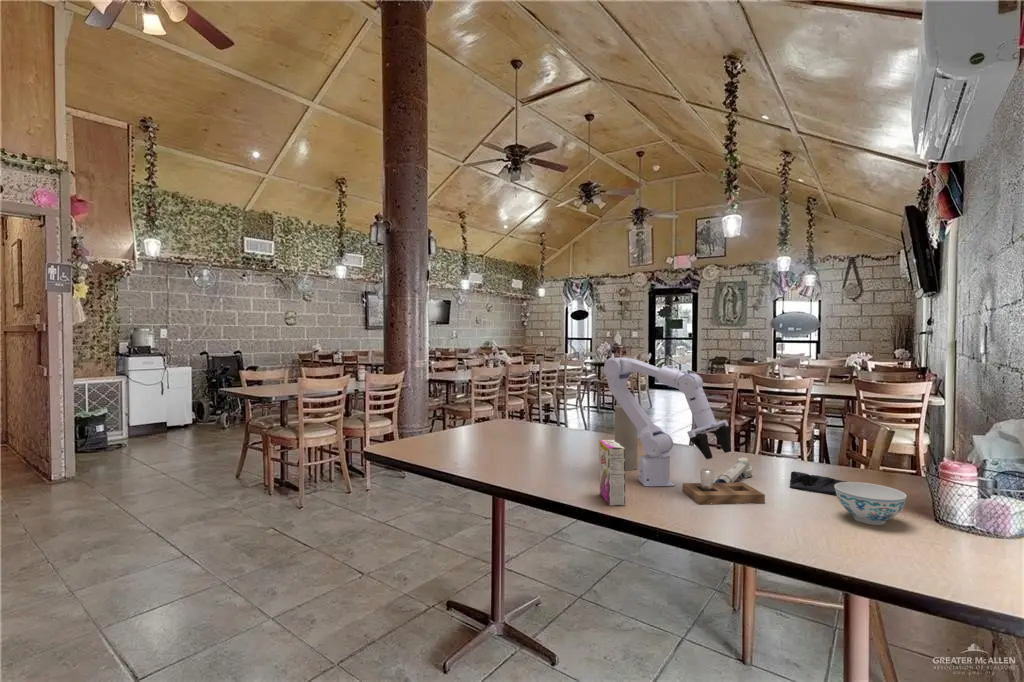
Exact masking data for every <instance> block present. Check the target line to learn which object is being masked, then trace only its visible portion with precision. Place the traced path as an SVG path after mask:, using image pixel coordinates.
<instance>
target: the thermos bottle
mask: <svg viewBox="0 0 1024 682" xmlns="http://www.w3.org/2000/svg"><path fill="white" fill-rule="evenodd" d="M628 390H629V389H628ZM629 391H630V392H631V394H632V395H633V396H634V391H633V390H629ZM614 440H615V441H616V442H618V443H619V444H620V445H621V446H623V447H624V448H625V471H635V470H634V469H636V470H638V429H637V428H636V427H635V425H634V424H633V422H632V421H631V420H630V418H629V417H628V415H627V414H626V413H625V411H624V410H623V408H622V407H621V406H620V404H619V403H618V401H617V400H616V405H615V406H614Z"/></svg>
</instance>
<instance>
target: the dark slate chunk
mask: <svg viewBox="0 0 1024 682" xmlns="http://www.w3.org/2000/svg"><path fill="white" fill-rule="evenodd" d="M790 472H791V473H790V479H789V488H790V489H794V490H802V491H806V490H807V492H811V491H813V492H812V493H818V492H820V493H819V494H826V493H829V494H828V495H832V494H834V495H833V496H837V495H836V492H835V487H834V485H835V484H837V483H841V482H848V481H846V480H841V479H835V478H831V477H829V476H823V475H822V476H821V475H815V474H808V473H806V472H801V471H800V472H799V471H794V470H793V471H790ZM807 485H809V486H807Z"/></svg>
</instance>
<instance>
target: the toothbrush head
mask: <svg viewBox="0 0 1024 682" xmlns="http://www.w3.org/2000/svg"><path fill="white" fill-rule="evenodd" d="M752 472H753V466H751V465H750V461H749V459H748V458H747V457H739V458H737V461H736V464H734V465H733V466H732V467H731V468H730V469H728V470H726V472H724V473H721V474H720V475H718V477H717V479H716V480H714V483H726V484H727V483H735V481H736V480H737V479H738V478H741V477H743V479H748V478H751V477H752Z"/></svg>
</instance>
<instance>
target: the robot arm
mask: <svg viewBox="0 0 1024 682" xmlns="http://www.w3.org/2000/svg"><path fill="white" fill-rule="evenodd" d="M603 365H604V366H603V374H604V375H605V376H606V377H605V378H606V382H607V384H608V390H609V391H610V393H611V394H612V396H613V397H614V398H615V401H616V402H617V401H618V403H619V404H620V406H621V407H622V408H623V410H624V411H625V413H626V414H627V415H628V417H629V418H630V420H631V421H632V422H633V424H634V425H635V427H636V428H637V432H639V441H640V442H641V444H642V448H643V451H644V452H645V455H640V456H639V458H638V479H637V480H638V481H639V482H640V483H641V484H642V485H643V486H644V487H673V486H674V487H675V483H673V482H672V481H671V476H670V474H671V473H670V472H671V471H670V469H671V466H670V465H671V459H670V458H671V456H670V455H671V454H670V451H671V450H672V448H673V446H674V440H673V438H672V437H671V435H670V434H668V433H666V432H665V431H664V430H663V429H662V428H661V427H660V426H658V425H656V424H655V423H654V422H653V421H652V419H651V418H650V417H649V416H648V413H646V411H645V410H644V408H643V407H642V406H641V405H640V403H639V401H638V400H637V398H635V396H634V394H633V393H632V394H633V395H632V394H631V392H630V391H631V390H630V391H629V388H628V387H627V384H628V380H629V378H630V377H631V374H632V373H635V372H637V373H640V374H643V375H646V376H651V377H653V378H656V379H657V381H658V382H659V383H660V384H663V385H666V386H669V387H672V388H675V389H677V390H679V391H680V392H681V393H682V394H683V395H684V397H685V399H686V403H687V405H688V407H689V410H690V413H691V415H692V417H693V420H694V423H695V426H696V428H695V429H691V430H689V431H687V432H686V433H687V436H688V438H689V440H690V442H691V443H692V444H694V446H696V448H697V449H698V450H699V452H700V453H701V454H702V455H703V456H704V458H705V459H706V460H711V459H713V453H712V451H711V449H710V448H711V447H710V444H709V439H708V437H709V436H708V434H706V433H709V432H712V433H713V434H714V436H715V438H716V439H717V441H718V442H719V445H720V447H721V449H722V451H723V452H724V453H725V454H726V453H731V452H732V448H731V439H730V435H731V427H730V425H729V422H728V420H727V419H723V420H720V421H717V420H716V418H715V415H714V413H713V410H712V408H711V405H710V404H709V401H708V398H707V396H706V393H705V391H704V388H703V386H704V381H703V380H704V379H703V378H702V376H701V375H699V374H697V373H696V372H690V373H688V371H687V370H686V369H683V370H681V369H676V368H674V366H673V365H670V364H669V365H668V364H667V365H663V366H662V367H659V366H655V365H652V364H649V363H647V362H645V361H641V360H639V359H635V358H633V357H632V358H631V357H630V358H629V357H628V356H627V357H626V356H623V357H609V358H607V360H605V361H604V364H603ZM710 428H711V429H710ZM704 434H705V435H704Z"/></svg>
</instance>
